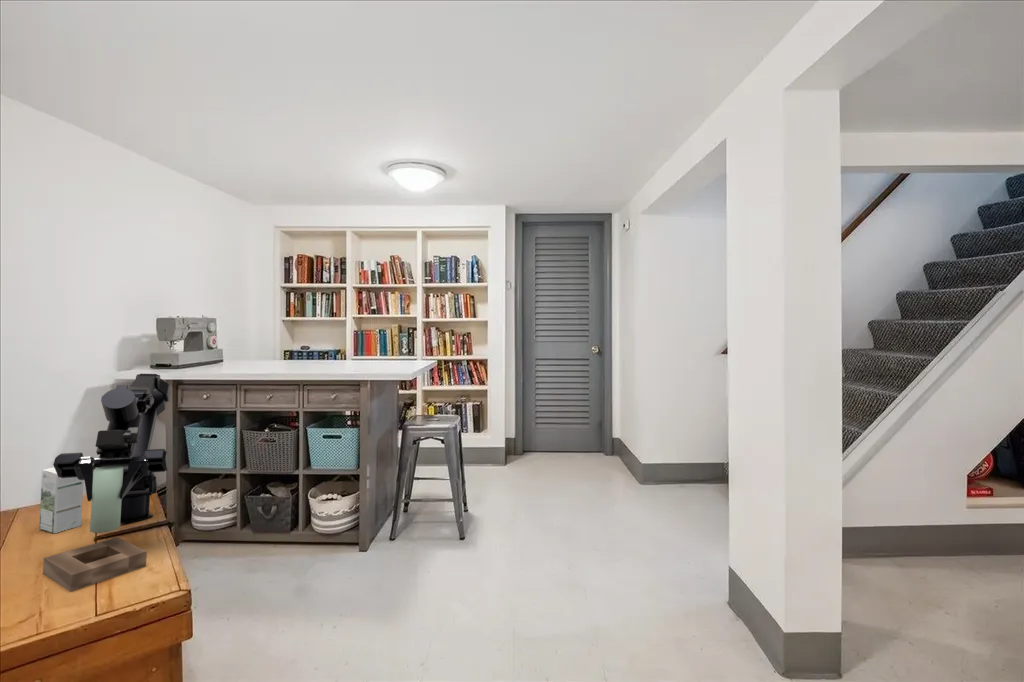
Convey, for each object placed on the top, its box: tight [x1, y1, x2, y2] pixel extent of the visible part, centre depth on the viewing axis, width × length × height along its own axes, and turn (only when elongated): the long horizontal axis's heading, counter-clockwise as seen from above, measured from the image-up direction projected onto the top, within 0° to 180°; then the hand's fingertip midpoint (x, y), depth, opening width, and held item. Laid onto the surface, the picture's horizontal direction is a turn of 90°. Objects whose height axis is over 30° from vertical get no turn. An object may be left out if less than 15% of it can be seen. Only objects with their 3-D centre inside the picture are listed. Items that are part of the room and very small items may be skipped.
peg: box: [89, 466, 124, 534], centre depth 99 cm, size 5×5×12 cm
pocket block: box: [42, 536, 148, 593], centre depth 94 cm, size 12×12×4 cm
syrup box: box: [38, 466, 84, 534], centre depth 113 cm, size 6×6×14 cm
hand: (105, 499), depth 98 cm, fingers closed on peg, 5 cm apart
